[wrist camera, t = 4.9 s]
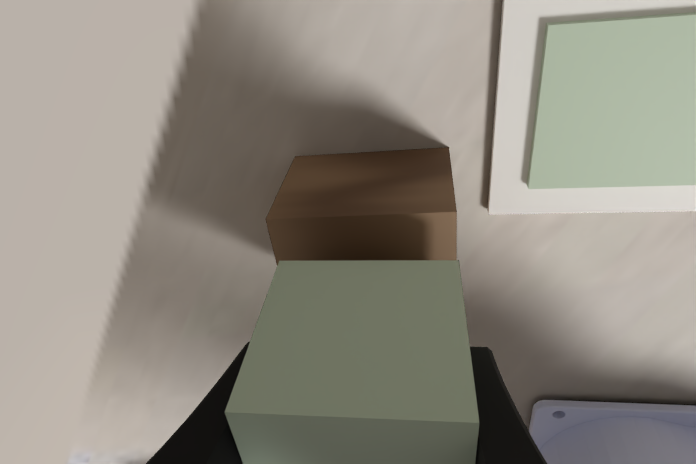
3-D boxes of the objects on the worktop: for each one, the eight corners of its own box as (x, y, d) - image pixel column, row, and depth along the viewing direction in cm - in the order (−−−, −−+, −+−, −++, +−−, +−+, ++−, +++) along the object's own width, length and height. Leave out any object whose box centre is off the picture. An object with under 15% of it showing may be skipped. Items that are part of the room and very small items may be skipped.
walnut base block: (448, 145, 16) (456, 211, 12) (449, 269, 18) (456, 350, 15) (295, 154, 16) (265, 219, 13) (318, 272, 19) (298, 349, 16)
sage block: (458, 260, 12) (479, 422, 8) (452, 381, 15) (466, 548, 11) (279, 260, 13) (224, 412, 9) (303, 376, 15) (267, 533, 11)
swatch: (811, -49, 12) (829, -47, 11) (716, 205, 16) (726, 215, 15) (503, -22, 13) (507, -19, 12) (487, 209, 17) (489, 219, 16)
